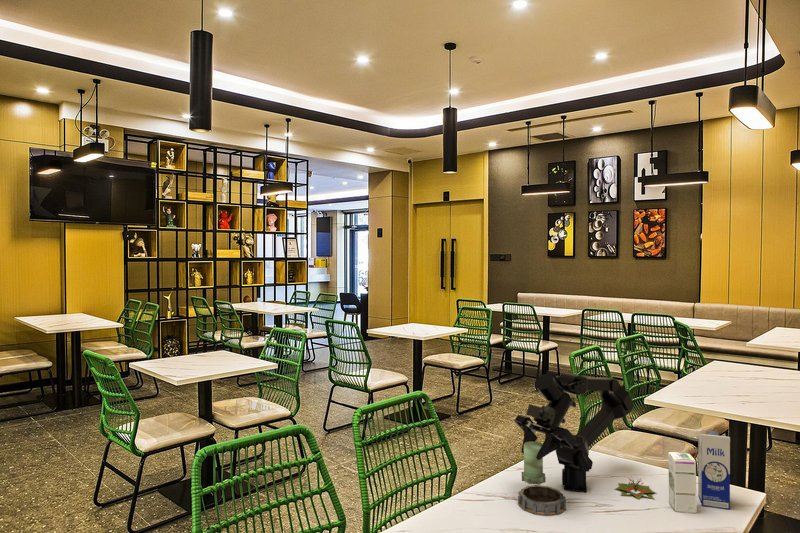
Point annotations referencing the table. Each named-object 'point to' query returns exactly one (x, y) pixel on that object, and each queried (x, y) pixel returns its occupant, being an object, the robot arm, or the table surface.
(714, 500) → the milk carton
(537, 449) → the green marbled cylinder
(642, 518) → the table surface
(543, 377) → the robot arm
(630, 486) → the lily flower
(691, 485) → the syrup box
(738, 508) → the table surface
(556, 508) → the gear collar
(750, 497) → the table surface
